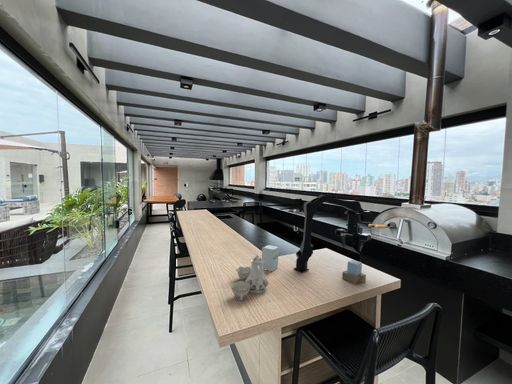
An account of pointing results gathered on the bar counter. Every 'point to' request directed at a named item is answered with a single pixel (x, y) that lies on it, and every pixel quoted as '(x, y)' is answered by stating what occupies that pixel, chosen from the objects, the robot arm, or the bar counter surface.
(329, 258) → the bar counter surface
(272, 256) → the supplement box
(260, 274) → the grey lumpy piece
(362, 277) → the walnut block
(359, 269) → the slate block
